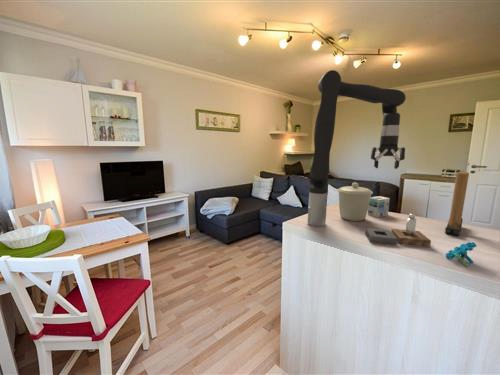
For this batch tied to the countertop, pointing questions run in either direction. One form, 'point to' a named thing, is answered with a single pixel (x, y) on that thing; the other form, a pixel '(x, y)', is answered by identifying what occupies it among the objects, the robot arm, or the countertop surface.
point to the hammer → (457, 204)
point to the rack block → (411, 238)
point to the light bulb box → (378, 206)
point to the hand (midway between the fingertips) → (386, 168)
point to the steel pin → (410, 225)
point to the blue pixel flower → (461, 252)
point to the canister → (354, 202)
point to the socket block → (380, 236)
